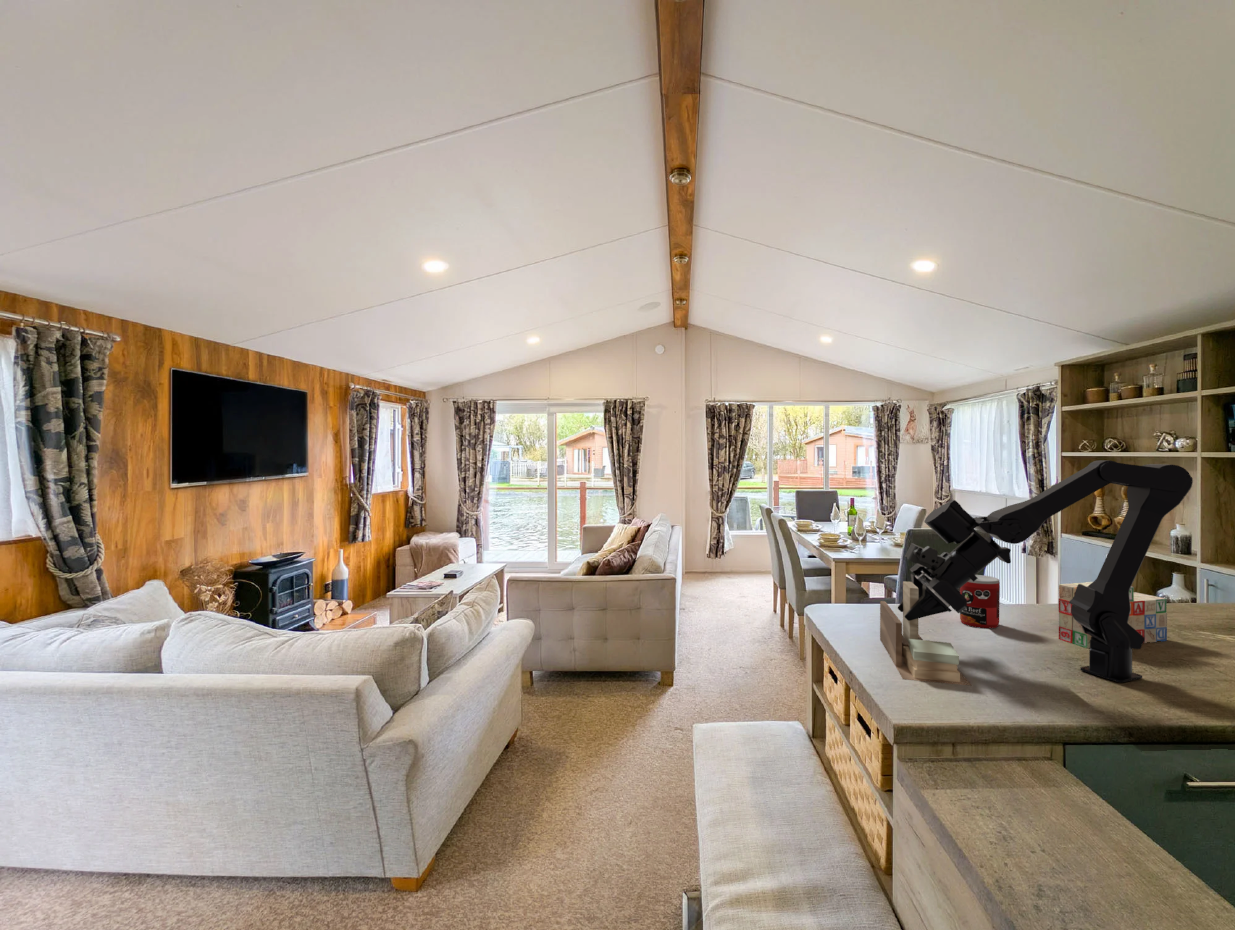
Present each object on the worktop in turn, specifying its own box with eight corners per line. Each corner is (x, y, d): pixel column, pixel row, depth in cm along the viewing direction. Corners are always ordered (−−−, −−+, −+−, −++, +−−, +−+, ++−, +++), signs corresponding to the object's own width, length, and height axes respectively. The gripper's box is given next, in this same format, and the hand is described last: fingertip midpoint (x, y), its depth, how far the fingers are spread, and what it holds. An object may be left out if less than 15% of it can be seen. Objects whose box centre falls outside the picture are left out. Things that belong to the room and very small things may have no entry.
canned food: (952, 621, 137) (952, 575, 137) (977, 618, 140) (977, 573, 140) (981, 630, 130) (981, 582, 130) (1007, 627, 132) (1007, 579, 132)
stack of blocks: (1135, 633, 128) (1136, 578, 128) (1167, 642, 122) (1168, 584, 122) (1057, 639, 124) (1058, 583, 124) (1086, 649, 118) (1087, 589, 117)
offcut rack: (935, 650, 116) (936, 604, 116) (971, 694, 95) (972, 637, 95) (880, 646, 119) (880, 601, 119) (902, 687, 98) (903, 632, 98)
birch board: (911, 646, 115) (911, 581, 115) (918, 656, 109) (918, 588, 109) (902, 645, 115) (903, 581, 115) (909, 655, 109) (909, 587, 109)
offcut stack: (948, 665, 104) (948, 640, 104) (963, 682, 96) (963, 656, 96) (901, 661, 106) (901, 637, 106) (912, 678, 98) (912, 652, 98)
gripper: (921, 524, 120) (864, 574, 123) (947, 537, 102) (879, 594, 105) (963, 564, 118) (904, 613, 121) (997, 583, 100) (927, 641, 103)
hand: (902, 614), depth 112 cm, fingers closed on birch board, 6 cm apart
